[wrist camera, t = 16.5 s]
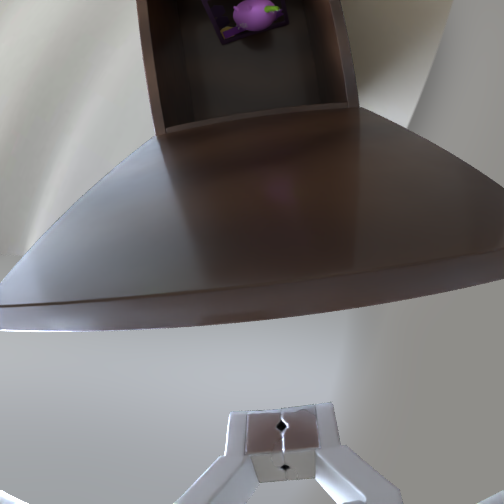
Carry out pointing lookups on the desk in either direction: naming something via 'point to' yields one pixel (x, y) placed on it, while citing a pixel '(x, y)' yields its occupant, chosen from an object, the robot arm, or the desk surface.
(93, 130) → the desk surface
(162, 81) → the case
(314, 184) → the cover
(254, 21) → the game card
